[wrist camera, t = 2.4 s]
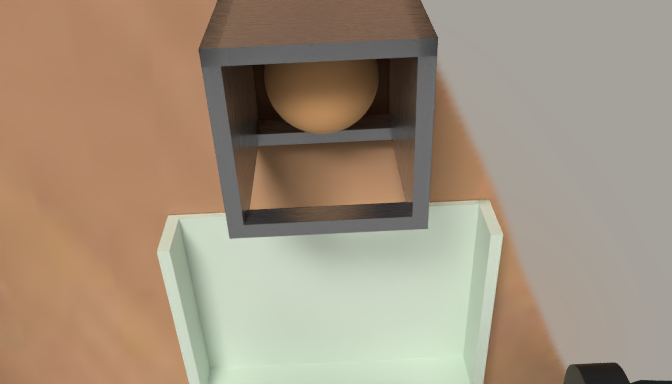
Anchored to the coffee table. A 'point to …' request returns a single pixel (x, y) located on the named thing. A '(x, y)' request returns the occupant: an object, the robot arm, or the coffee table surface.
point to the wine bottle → (651, 382)
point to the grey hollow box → (249, 132)
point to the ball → (322, 92)
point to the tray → (335, 301)
